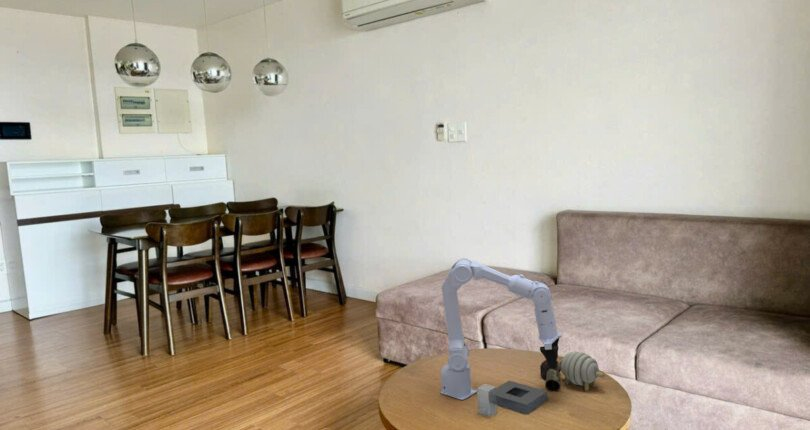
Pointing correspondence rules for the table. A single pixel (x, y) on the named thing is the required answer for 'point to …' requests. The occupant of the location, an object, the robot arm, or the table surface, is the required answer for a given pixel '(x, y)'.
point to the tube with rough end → (550, 376)
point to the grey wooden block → (487, 400)
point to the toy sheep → (580, 369)
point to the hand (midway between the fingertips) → (553, 363)
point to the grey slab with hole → (520, 397)
